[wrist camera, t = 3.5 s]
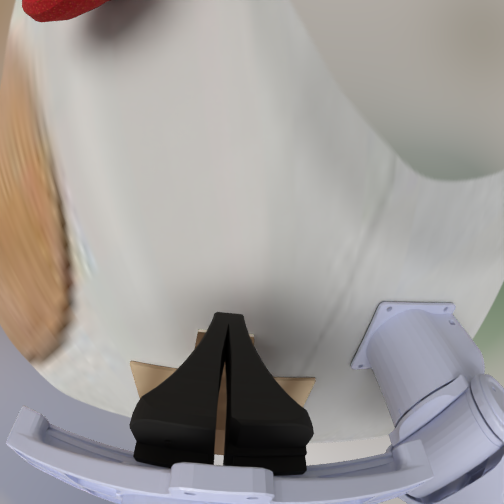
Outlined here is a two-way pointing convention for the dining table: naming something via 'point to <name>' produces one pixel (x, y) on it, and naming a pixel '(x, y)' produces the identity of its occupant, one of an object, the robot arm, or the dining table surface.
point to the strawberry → (58, 8)
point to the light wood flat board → (155, 375)
